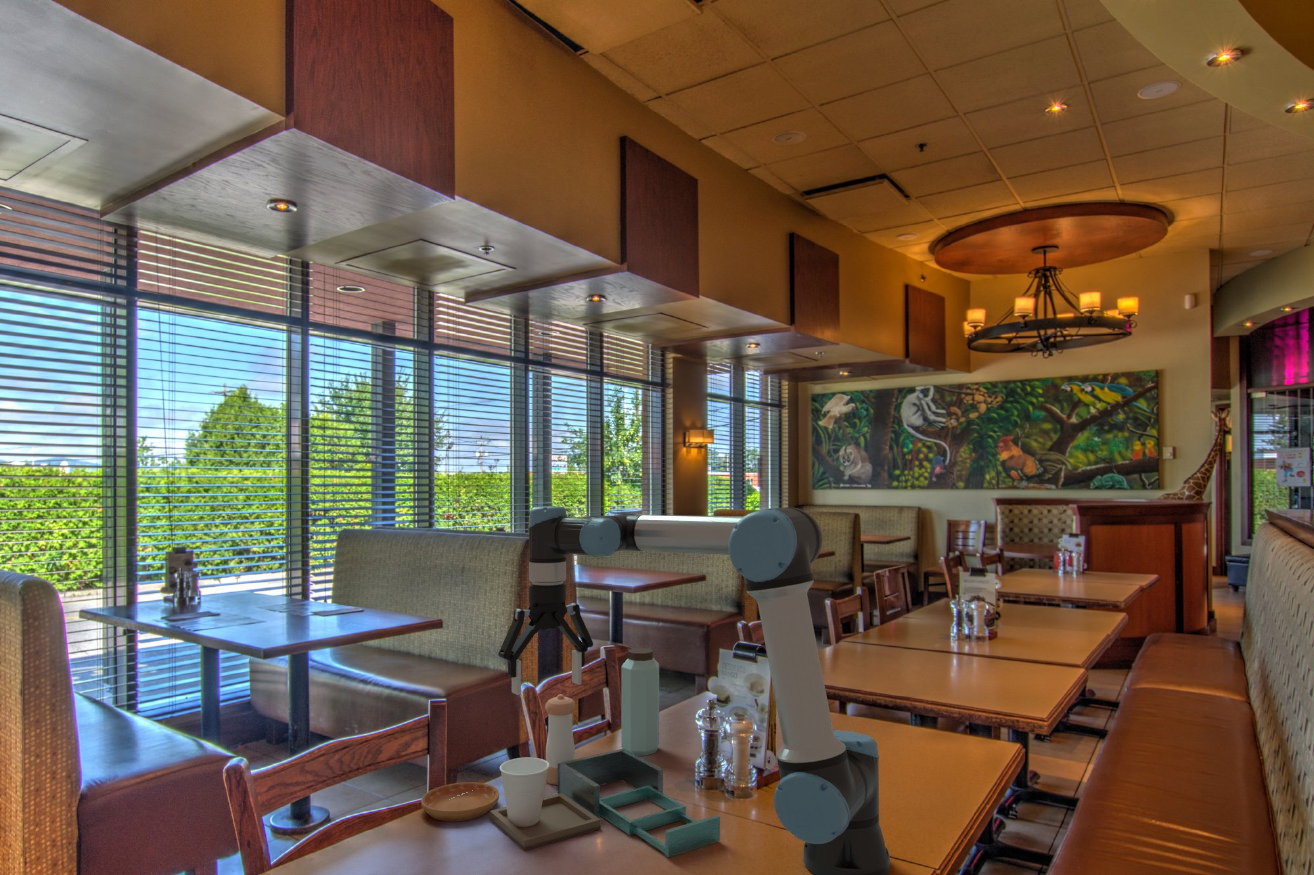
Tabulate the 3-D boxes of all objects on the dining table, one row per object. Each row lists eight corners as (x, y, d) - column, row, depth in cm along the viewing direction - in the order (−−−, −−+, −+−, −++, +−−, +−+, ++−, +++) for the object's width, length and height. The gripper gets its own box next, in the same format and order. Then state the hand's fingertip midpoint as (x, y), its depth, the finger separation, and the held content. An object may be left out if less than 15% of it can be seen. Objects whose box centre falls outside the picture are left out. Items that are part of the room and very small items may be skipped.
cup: (540, 834, 157) (541, 776, 158) (491, 830, 159) (492, 773, 159) (555, 813, 167) (555, 758, 168) (508, 809, 169) (509, 755, 169)
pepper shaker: (579, 782, 185) (580, 696, 186) (548, 786, 183) (549, 700, 184) (571, 771, 192) (571, 689, 193) (540, 775, 189) (541, 692, 190)
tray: (600, 828, 161) (600, 819, 161) (524, 850, 152) (524, 840, 152) (561, 801, 174) (561, 792, 174) (489, 819, 165) (489, 810, 165)
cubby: (662, 800, 175) (662, 769, 175) (594, 818, 165) (594, 786, 166) (623, 777, 188) (623, 748, 189) (557, 793, 179) (557, 763, 179)
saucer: (417, 801, 175) (417, 787, 175) (491, 790, 181) (492, 777, 181) (425, 831, 160) (425, 815, 161) (506, 818, 166) (506, 803, 166)
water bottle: (616, 745, 210) (616, 647, 211) (653, 741, 213) (653, 645, 214) (626, 758, 201) (626, 656, 202) (665, 754, 204) (665, 653, 205)
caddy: (723, 840, 155) (723, 815, 156) (664, 859, 148) (664, 833, 148) (648, 796, 177) (648, 775, 177) (594, 811, 169) (594, 788, 169)
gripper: (591, 576, 176) (591, 675, 175) (482, 585, 162) (481, 693, 161) (609, 579, 170) (609, 682, 169) (497, 589, 156) (497, 702, 154)
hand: (547, 688), depth 165 cm, fingers open, 13 cm apart
